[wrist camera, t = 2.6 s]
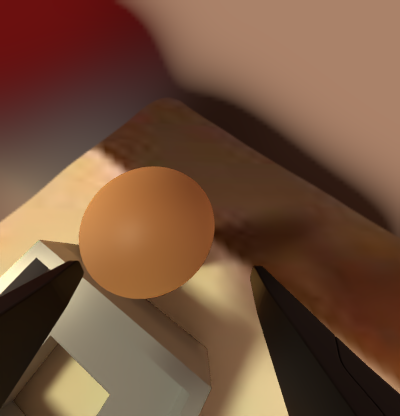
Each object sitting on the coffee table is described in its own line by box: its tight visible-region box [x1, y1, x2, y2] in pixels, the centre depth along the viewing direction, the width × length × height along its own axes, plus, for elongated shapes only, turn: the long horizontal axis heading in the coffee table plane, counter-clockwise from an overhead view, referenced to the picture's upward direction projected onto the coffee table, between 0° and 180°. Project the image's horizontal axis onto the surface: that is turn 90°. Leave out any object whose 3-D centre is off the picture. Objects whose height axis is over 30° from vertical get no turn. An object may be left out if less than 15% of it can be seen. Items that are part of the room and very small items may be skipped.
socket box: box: [0, 240, 212, 416], centre depth 11 cm, size 17×17×4 cm
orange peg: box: [79, 167, 215, 299], centre depth 11 cm, size 4×4×13 cm
